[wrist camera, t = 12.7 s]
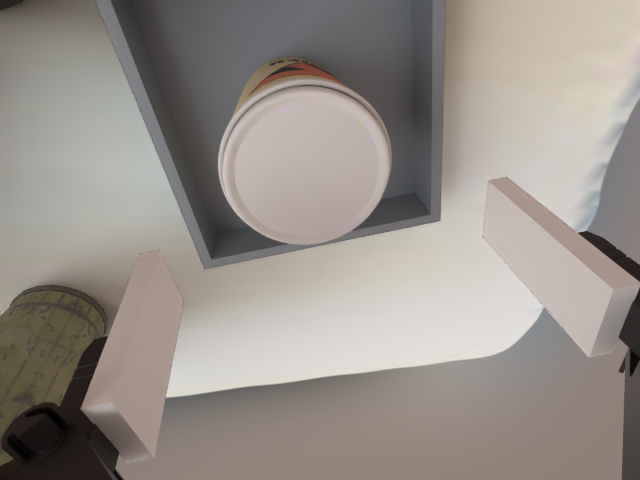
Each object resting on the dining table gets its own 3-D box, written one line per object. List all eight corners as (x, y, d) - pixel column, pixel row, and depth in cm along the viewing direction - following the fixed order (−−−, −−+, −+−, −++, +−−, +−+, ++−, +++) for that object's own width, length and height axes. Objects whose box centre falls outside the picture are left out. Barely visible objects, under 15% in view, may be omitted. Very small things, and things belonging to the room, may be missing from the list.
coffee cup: (370, 71, 30) (427, 120, 20) (324, 180, 35) (353, 264, 25) (248, 21, 27) (245, 51, 17) (216, 147, 32) (199, 228, 22)
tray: (210, 236, 37) (204, 269, 33) (115, -17, 26) (89, -15, 22) (419, 193, 38) (440, 220, 34) (417, -73, 26) (447, -81, 22)
